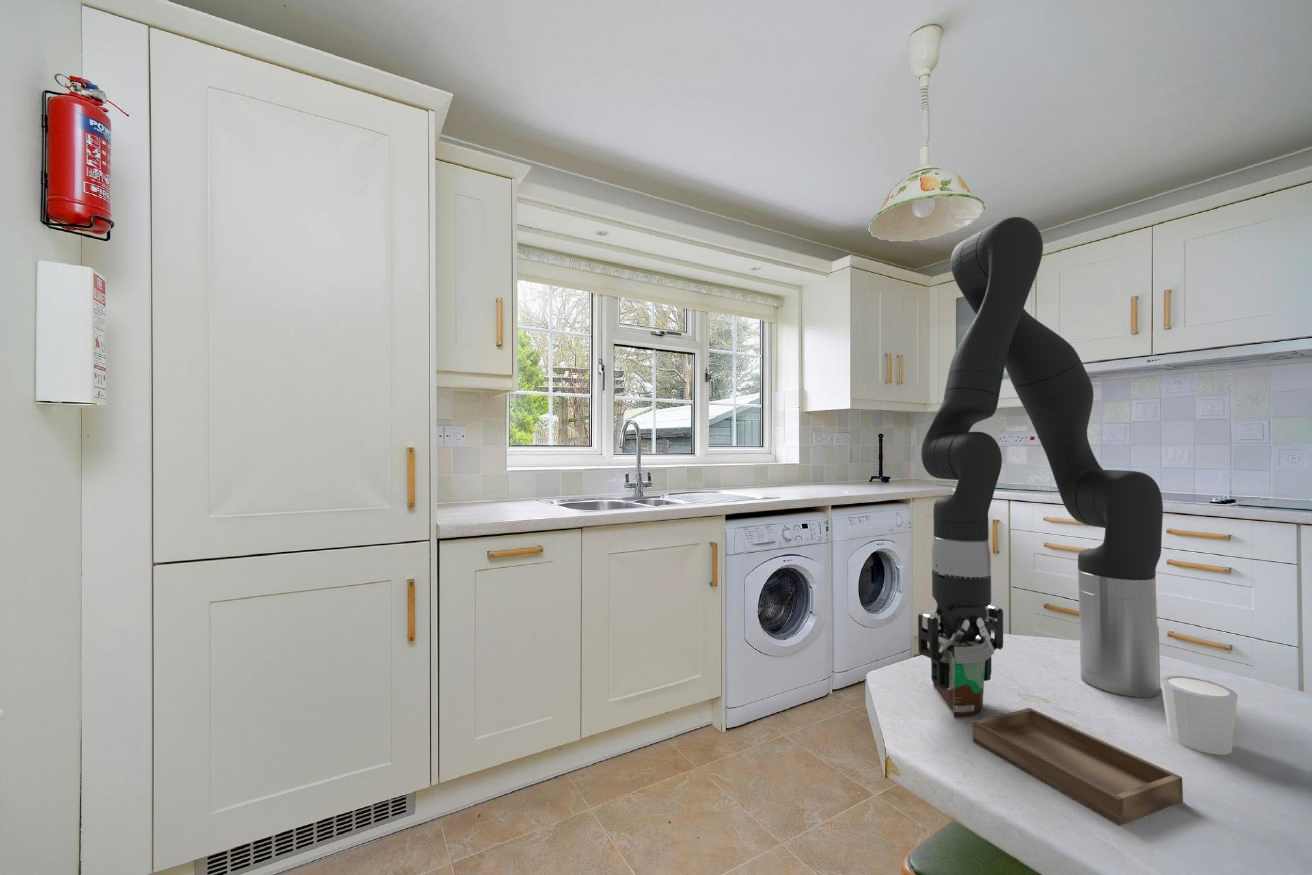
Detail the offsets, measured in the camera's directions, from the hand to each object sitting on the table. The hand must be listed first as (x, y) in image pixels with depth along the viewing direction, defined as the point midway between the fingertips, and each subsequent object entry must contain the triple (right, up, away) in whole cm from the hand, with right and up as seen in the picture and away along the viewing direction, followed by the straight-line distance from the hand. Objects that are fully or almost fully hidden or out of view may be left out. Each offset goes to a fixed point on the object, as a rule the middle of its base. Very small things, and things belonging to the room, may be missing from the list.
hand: (961, 682), depth 79 cm
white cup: (+24, -3, -11) cm, 26 cm away
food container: (+1, -3, 0) cm, 3 cm away
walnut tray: (+3, -3, -16) cm, 17 cm away
